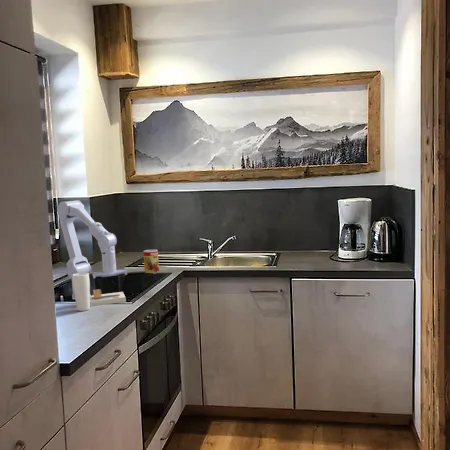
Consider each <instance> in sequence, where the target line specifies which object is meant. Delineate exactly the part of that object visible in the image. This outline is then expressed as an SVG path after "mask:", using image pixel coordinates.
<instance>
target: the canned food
mask: <svg viewBox="0 0 450 450" xmlns="http://www.w3.org/2000/svg"><path fill="white" fill-rule="evenodd" d="M142 252H143V266H144V268H143V269H144V273H145V272H148V273H152V272H157V271H159V272H160V266H159V265H160V264H159V251H158V249H146V250H145V249H144V250H143V251H142Z"/></svg>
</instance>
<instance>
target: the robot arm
mask: <svg viewBox="0 0 450 450" xmlns="http://www.w3.org/2000/svg"><path fill="white" fill-rule="evenodd" d="M56 210H57V213H58V217H59V223H60V227H61V230H62V235H63V238H64V242H65V246H66V250H67V252H68V257H69V259H68V261H67V262H66V273H67V276H68V278H69V279H70V280H71V286H72V287H71V288H72V294H71V297H72V298H71V299H72V300H73V301H74V300H75V294H74V289H73V281H72V275H73V274H76V273H89V275H90V274H91V272H92V267H91V266H92V265H90V263H89V262H88V258H87V257H85V256H84V255H82V250H81V247H80V243H79V240H78V235H77V233H76V230H75V229H76V228H75V225H74V221H75V220H76V219H77V218H78V219H79V220H81V222H82V223H84V224H85V225H86V226H87V227H88V232H89V233H90V234H91V235H92V236H93V238H95V239H96V241H97V245H98V248H99V250H100V253H101V261H102V271H100V272H92V278H93V279H95V280H96V282H97V283H98V286H99V288H100V290H101V294H105V293H104V288H103V278H105V277H113V276H117V277H118V278H117V280H118V292H122V286H123V283H124V281H125V276H127V275H128V270H127V269H117V261H116V245H117V242H118V239H117V236H116V235H115V234H114V233H112V232H109V231H108V230H107V229H105V227H104V226H103V224H102V223H101V222H97V221H95V220H94V219H93V218H92V217H91V215H90V214H89V213H88V211H87V210H86V209H85V204H83V203H82V202H81V200H79V199H75V200H68V201H60V203H59V204H58V206H57V207H56ZM90 296H92V295H91V294H90Z"/></svg>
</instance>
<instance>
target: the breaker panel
mask: <svg viewBox="0 0 450 450" xmlns="http://www.w3.org/2000/svg"><path fill="white" fill-rule="evenodd" d="M101 297H102V298H94V294H92V295H91V296H90V307H95V306H102V305H109V304H110V305H111V304H117V303H118V304H119V303H127V298H126V296H125V294H124V291H121V292H119V291H118V292H112V293H111V292H110V293H109V292H108V293H104V294H102V293H101Z"/></svg>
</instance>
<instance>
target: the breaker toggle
mask: <svg viewBox="0 0 450 450" xmlns="http://www.w3.org/2000/svg"><path fill="white" fill-rule="evenodd" d="M92 291H93V295H94V298H102V297H101V294H102V292H101V288H100V289H93V290H92Z"/></svg>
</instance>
